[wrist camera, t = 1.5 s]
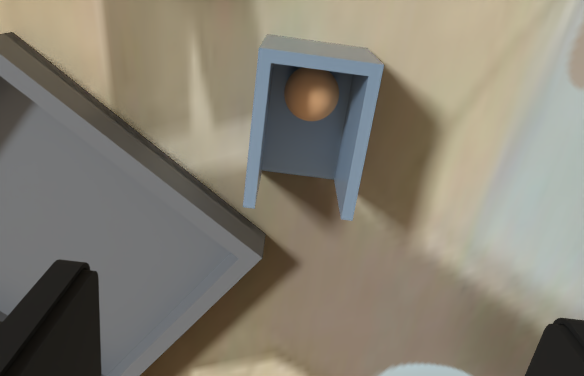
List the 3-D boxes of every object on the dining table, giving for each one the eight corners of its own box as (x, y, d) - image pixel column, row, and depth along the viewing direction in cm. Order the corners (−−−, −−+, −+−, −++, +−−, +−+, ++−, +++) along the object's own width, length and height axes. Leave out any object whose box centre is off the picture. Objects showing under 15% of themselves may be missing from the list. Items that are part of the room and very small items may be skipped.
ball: (346, 93, 28) (354, 89, 25) (311, 132, 28) (315, 132, 25) (308, 58, 27) (311, 49, 24) (273, 97, 28) (272, 93, 25)
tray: (265, 234, 32) (262, 258, 29) (113, 383, 37) (98, 415, 35) (12, 32, 27) (-21, 37, 24) (-121, 237, 32) (-160, 261, 30)
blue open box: (267, 34, 27) (258, 47, 21) (366, 47, 27) (384, 64, 22) (253, 165, 30) (243, 207, 25) (342, 177, 30) (352, 220, 25)
